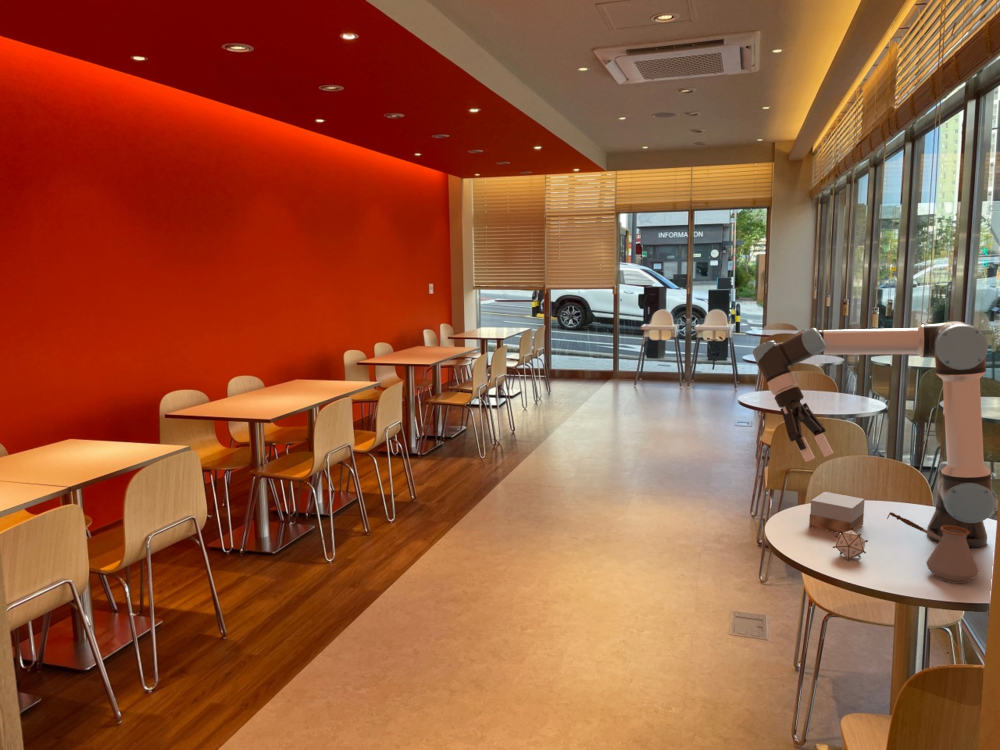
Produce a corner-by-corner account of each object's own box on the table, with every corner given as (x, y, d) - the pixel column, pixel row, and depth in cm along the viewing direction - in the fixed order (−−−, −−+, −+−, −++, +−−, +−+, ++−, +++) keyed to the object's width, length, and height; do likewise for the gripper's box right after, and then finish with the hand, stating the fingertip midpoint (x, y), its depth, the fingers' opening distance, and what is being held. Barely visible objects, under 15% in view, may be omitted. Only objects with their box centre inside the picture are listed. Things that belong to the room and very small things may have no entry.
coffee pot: (977, 574, 194) (982, 518, 192) (977, 590, 184) (982, 532, 182) (885, 558, 205) (889, 505, 203) (881, 572, 196) (885, 517, 194)
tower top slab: (863, 513, 231) (864, 499, 230) (851, 522, 222) (852, 508, 221) (823, 505, 239) (824, 491, 238) (810, 514, 230) (811, 500, 229)
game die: (856, 572, 205) (878, 551, 198) (828, 562, 205) (849, 541, 198) (851, 547, 212) (872, 526, 205) (823, 536, 212) (844, 515, 205)
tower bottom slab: (862, 527, 231) (863, 513, 231) (849, 537, 223) (850, 522, 222) (823, 518, 239) (824, 505, 239) (809, 528, 231) (809, 514, 230)
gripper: (792, 394, 230) (824, 457, 224) (755, 398, 213) (790, 467, 206) (813, 383, 226) (847, 448, 219) (778, 387, 208) (814, 457, 201)
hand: (819, 457), depth 213 cm, fingers open, 13 cm apart
